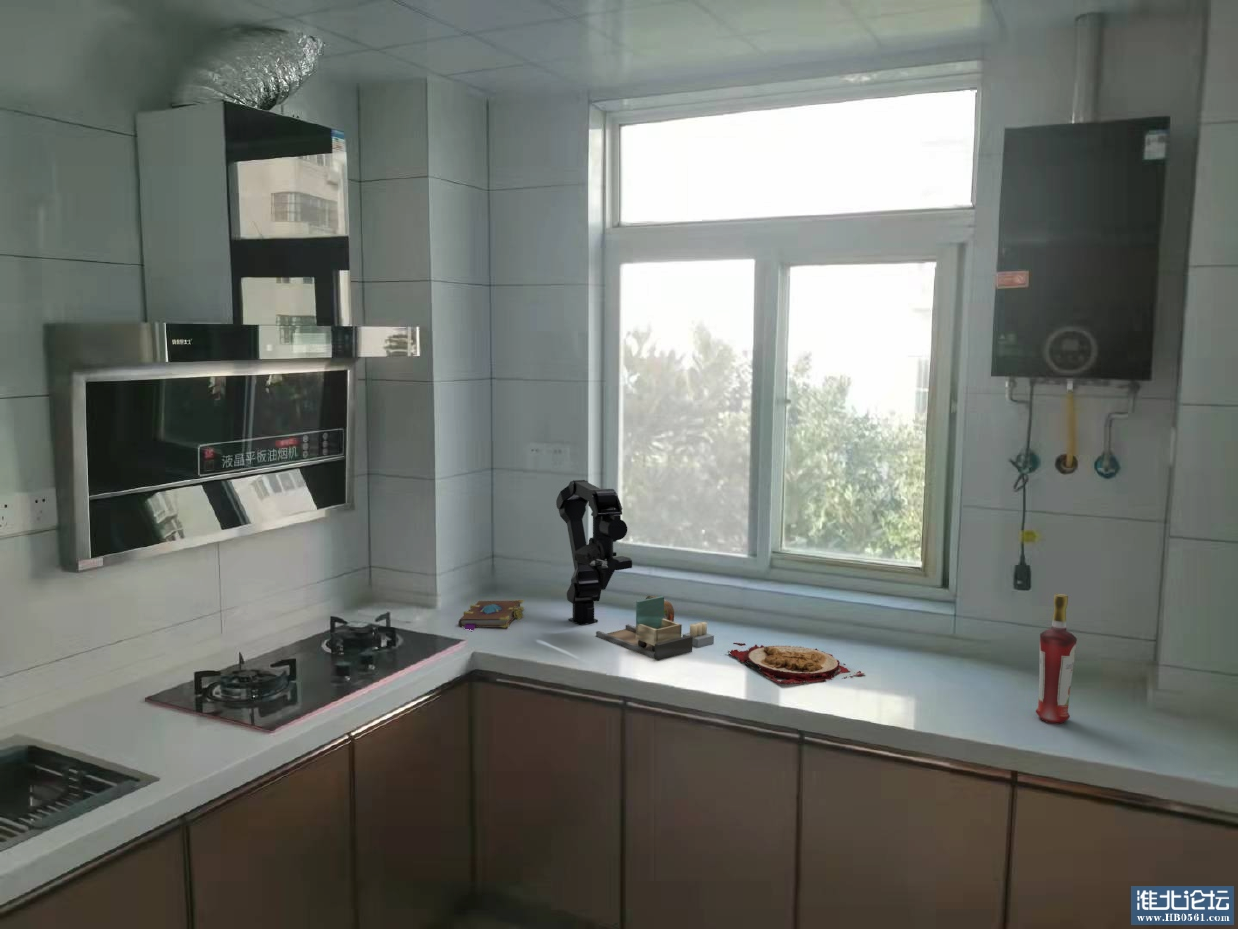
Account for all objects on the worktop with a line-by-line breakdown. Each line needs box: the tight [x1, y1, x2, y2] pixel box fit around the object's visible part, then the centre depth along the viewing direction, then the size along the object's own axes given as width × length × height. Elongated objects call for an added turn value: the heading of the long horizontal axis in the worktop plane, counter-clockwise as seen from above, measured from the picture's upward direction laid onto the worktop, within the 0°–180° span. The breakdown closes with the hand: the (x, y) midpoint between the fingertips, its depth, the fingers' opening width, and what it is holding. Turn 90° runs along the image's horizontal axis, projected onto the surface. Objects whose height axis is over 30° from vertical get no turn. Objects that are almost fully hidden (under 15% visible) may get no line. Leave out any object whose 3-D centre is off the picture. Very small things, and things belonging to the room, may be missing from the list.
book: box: [458, 599, 525, 633], centre depth 279 cm, size 16×25×5 cm, turn 173°
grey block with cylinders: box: [682, 621, 715, 648], centre depth 258 cm, size 6×6×6 cm
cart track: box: [595, 624, 693, 661], centre depth 256 cm, size 26×12×5 cm, turn 40°
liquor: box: [1035, 593, 1078, 724], centre depth 208 cm, size 7×7×28 cm
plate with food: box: [728, 642, 865, 685], centre depth 243 cm, size 25×26×4 cm
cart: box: [635, 595, 683, 652], centre depth 251 cm, size 8×9×13 cm
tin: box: [645, 595, 675, 622], centre depth 275 cm, size 15×3×8 cm, turn 25°
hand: (602, 589), depth 264 cm, fingers closed
